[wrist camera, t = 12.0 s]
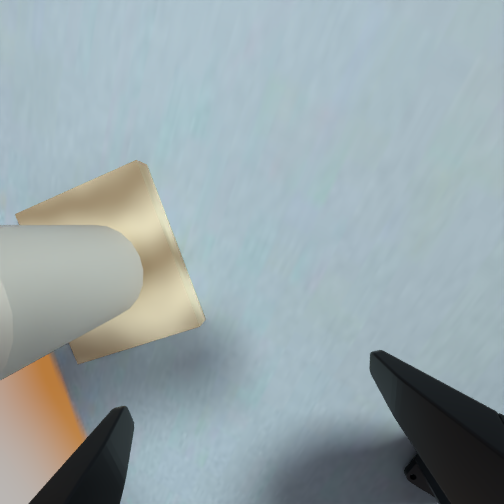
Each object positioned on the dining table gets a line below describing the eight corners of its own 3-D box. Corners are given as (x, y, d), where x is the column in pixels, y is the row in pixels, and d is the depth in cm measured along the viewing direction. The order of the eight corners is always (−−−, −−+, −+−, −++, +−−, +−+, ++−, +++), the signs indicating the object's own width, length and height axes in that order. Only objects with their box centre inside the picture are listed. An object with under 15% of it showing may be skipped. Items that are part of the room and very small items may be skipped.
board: (32, 214, 23) (14, 214, 21) (146, 164, 21) (136, 160, 19) (90, 355, 23) (77, 364, 22) (205, 319, 22) (199, 326, 20)
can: (50, 263, 21) (-245, 312, 9) (108, 205, 20) (-148, 178, 8) (106, 331, 21) (-118, 465, 9) (167, 277, 20) (-1, 355, 8)
